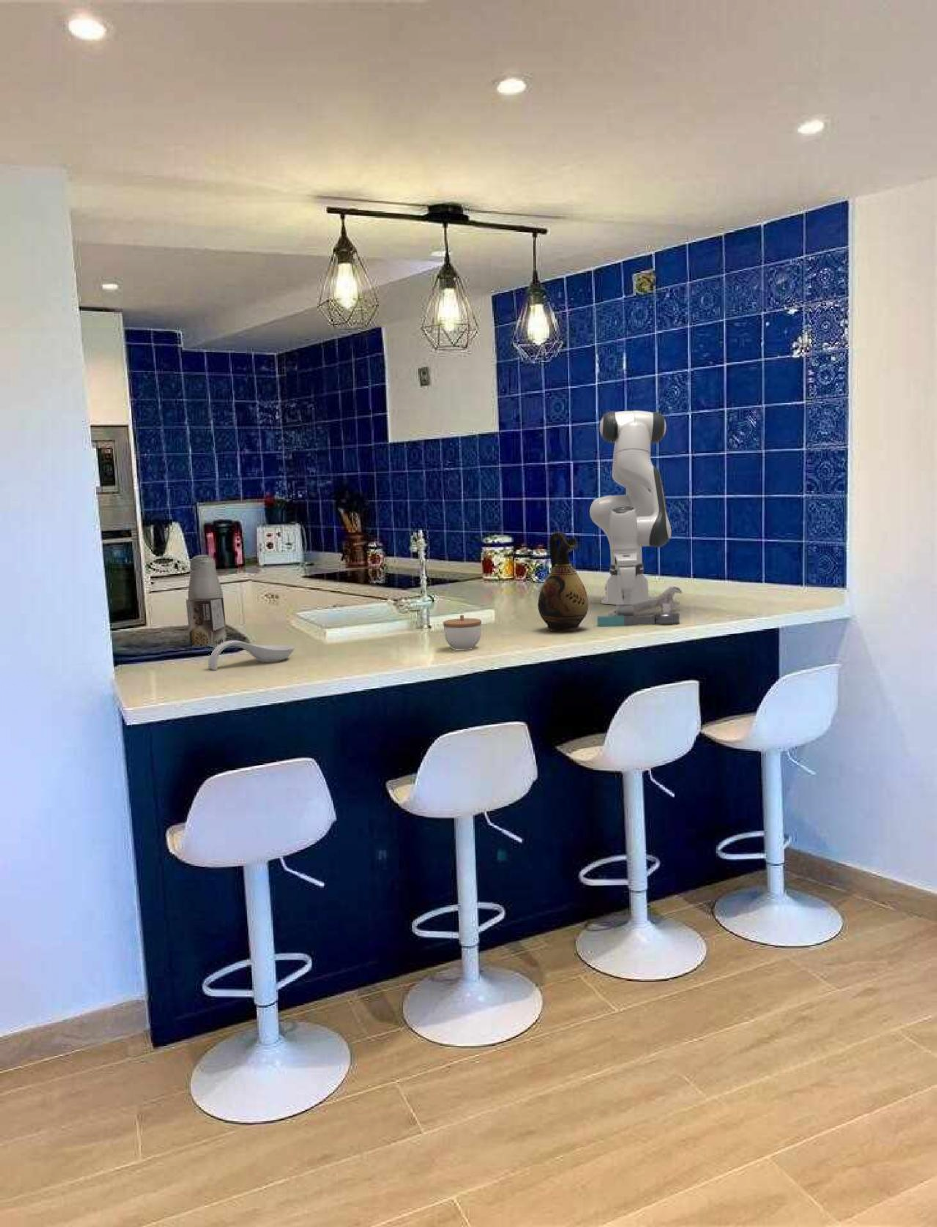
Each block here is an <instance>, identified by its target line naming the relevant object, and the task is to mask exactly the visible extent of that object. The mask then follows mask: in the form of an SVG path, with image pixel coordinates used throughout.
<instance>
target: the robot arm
mask: <svg viewBox="0 0 937 1227" xmlns="http://www.w3.org/2000/svg"><path fill="white" fill-rule="evenodd" d="M599 432H600V436H601V439H602V440H604V442H606V443H611V444H614V447H613V454H612V455H613V457H612V467H611V468H612V470H611V477H612V480H613V481H614V482H615V483H616V484H618V485H619V486H621V487H623V488H625V494H619V495H605V496H600V497H598V498H595V499H594V500H593V501H592V502H591V505H590V508H589V517H590V519H591V520H592V523H594V524H595V525H596V526H597V527H599V528H600V529H601V530H602V531H603V532H604V535H606V537H607V540H608V543H609V550H610V565H609V574H610V577H609V578H607V580H606V583H605V585H604V590H605V595H606V596H605V597H604V598H603V599H602V600H601V604H603V605H604V604H606V605H620V604H632V605H633V604H637V603H641V602H644V601H648V600H652V599H654V598H653V597H650V595H649V594H650V593H649V579H648V578H647V577H645V575H644V572H645V571H644V569H645V568H644V563H643V552H642V549H643V548H642V547H655V548H662V547H663V546H665V545H666V544H667V543H668V542H669V541H670V540H671V537H672V528H671V523H670V520H669V516H668V509H667V503H666V495H665V490H664V483H663V479H662V475H661V472H660V470H659V469H658V467H655V466H654V465H653V462H652V459H651V451H652V450H651V445H654V444H657V443H659V442H661V441H662V440H664V436H665V434H666V432H667V422H666V419H665V416H664V415H663V413H660V412H657V411H652V412H651V411H646V410H623V411H615V410H612V411H607V412H605V413H604V415H602V418H601V420H600V423H599Z"/></svg>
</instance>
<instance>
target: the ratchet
mask: <svg viewBox="0 0 937 1227" xmlns="http://www.w3.org/2000/svg"><path fill="white" fill-rule="evenodd" d="M661 609H662V611H659V612H658V611H657V612H654V613H652V614H648V615H647V614H646V615H643V614H642V615H634V616H623V615H615V614H614V615H613V614H612V615H609V616H608V615H597V618H596V619H597V627H621V626H620V625H624V626H639V625H638V624H652V625H655V624H662V625H661V626H670V625H669V624H676V625H678V624H680V612H675V611H671V610H670V604H662V608H661Z"/></svg>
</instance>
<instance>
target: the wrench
mask: <svg viewBox="0 0 937 1227" xmlns="http://www.w3.org/2000/svg"><path fill="white" fill-rule="evenodd" d="M682 593H683V591H682V589H681V588H679V587H678V586H669V587H668V588H667V589H665V590H664V591H663V592H662V593H661V594H660V595H658V596H656V597H655V598H653V599H652V600H648V601H644V602H641V603H637V604H632V605H633V610H634V615H636V614H638V613H642V612H645V611H646V612H647V611H648V610H652V609H655V608H661V609H662V604H670V611H671V610H674V609H676V608H677V607H678V606H679V605H680V602H679V601H675V600H673V597H674V596H675V594H682ZM613 613H614V615H617V608H615V609H612V610H610V611H608V615H607V616H609V615H613Z"/></svg>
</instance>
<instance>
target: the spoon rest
mask: <svg viewBox="0 0 937 1227" xmlns="http://www.w3.org/2000/svg"><path fill="white" fill-rule="evenodd" d="M234 646H235V647H240V648H242V649H243V650H245V651H246V652H248V653H249V654H250V655H251V656H252V657H253V658H255V659H256V660H258V661H259V662H260V663H263V662H270V663H277V662H282V661H283V660H286V659H288V657H290V656H291V654H292V653H293V652H294V650H295V647H294V646H291V645H289V646H288V645H278V644H277V645H275V644H270V645H268V644H267V645H266V644H265V645H264V644H263V645H261V644H252V643H249V642H246V641H245V642H244V641H241V640H227V641H226V642H224V643H221V644H220V645H218V646H217V647H216V648H215V649H214V650H213V651H212V653H211V655H210V654H209V657H208V663H207V664H208V665H207V667H208V669H210V670H213V671H218V659H219V656H220V654H222V653H221V652H222V651H223V650H224V649H225V648H227V647H228V648H229V647H234ZM281 660H282V661H281Z"/></svg>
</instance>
